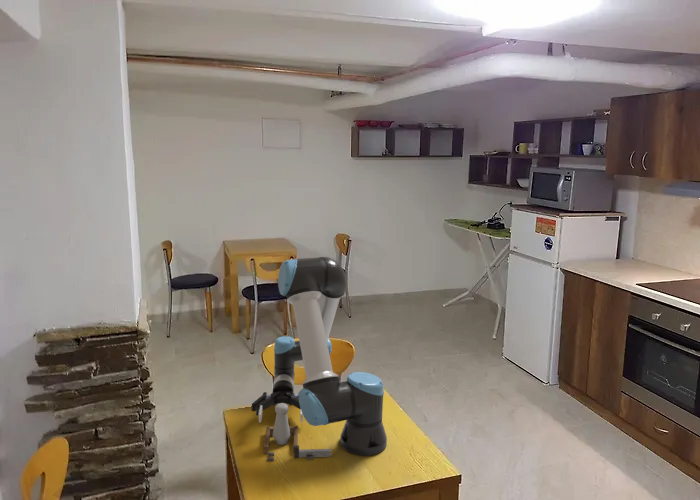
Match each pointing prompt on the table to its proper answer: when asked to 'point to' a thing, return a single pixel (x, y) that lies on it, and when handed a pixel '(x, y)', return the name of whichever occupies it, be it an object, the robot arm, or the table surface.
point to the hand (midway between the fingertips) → (280, 418)
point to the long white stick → (311, 452)
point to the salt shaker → (281, 425)
